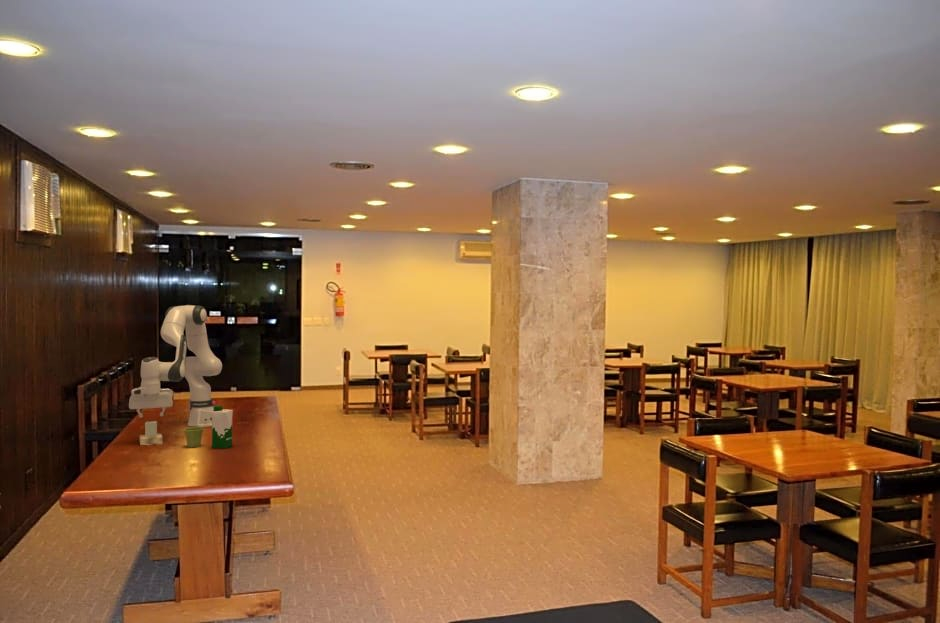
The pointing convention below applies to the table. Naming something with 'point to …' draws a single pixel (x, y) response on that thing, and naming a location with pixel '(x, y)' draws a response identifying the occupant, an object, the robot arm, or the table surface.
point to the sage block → (151, 429)
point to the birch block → (151, 440)
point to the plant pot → (193, 436)
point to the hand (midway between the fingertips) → (151, 416)
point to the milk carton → (221, 427)
